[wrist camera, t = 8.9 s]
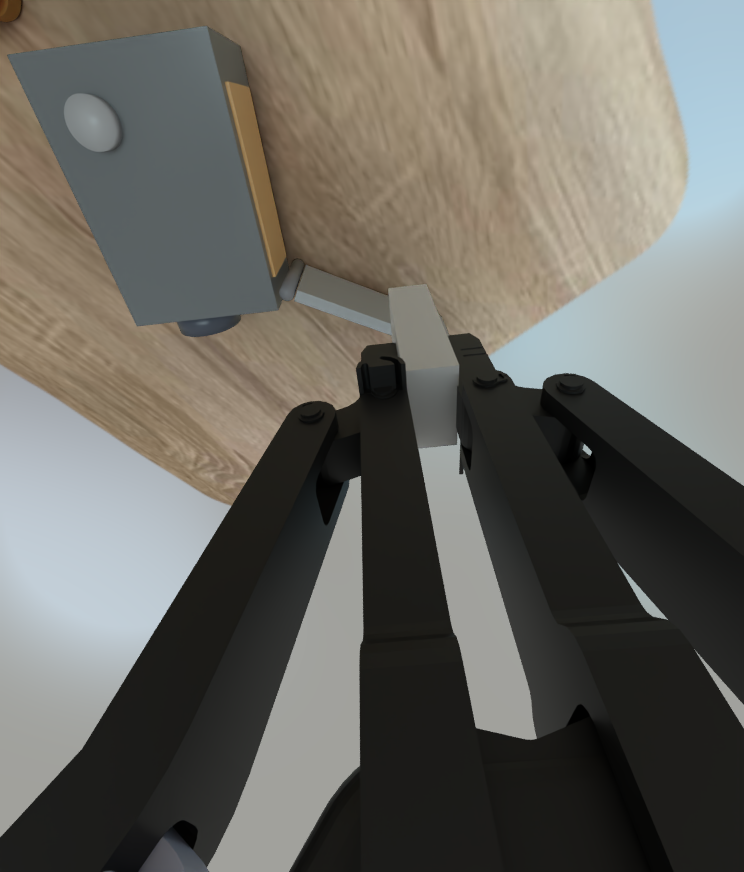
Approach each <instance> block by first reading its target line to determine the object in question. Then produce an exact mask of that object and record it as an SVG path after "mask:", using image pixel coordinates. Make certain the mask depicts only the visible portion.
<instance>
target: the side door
mask: <svg viewBox="0 0 744 872" xmlns="http://www.w3.org/2000/svg"><path fill="white" fill-rule="evenodd" d="M303 270H304V263H303V261H302V260H300V259H295V260H294V261H293V262H292V264H291V266H290V269H289V271H288V273H287V275H286V277H285V279H284V282H283V284H282V286H281V288H280V291H279V295H280V297H281V298H282V299H283V300H285V301H290V300H292V299H293V297H294V295H295V292H296V289H297V286H298V284H299V281H300V278H301V275H302V273H303V275H302V278H301V281H300V284H299V287H298V289H297V293H296V297H295V300H294V301H296V302H298V303H301V304H304V305H307V306H310V307H312V308H315V309H318V310H321V311H324V312H327V313H329V314H332V315H335V316H338V317H341V318H343V319H346V320H349V321H352V322H355V323H358V324H360V325H363V326H366V327H369V328H372V329H375V330H377V331H380V332H383V333H386V334H389V335H391V336H392V333H391V320H390V308H389V296H387V295H384V294H382V293H379V292H376V291H374V290H371V289H369V288H366V287H363V286H361V285H358V284H355V283H353V282H350V281H347V280H345V279H342V278H339V277H337V276H334V275H332V274H329V273H326V272H324V271H321V270H318V269H316V268H313V267H310V266H308V265H306V267H305V270H304V272H303ZM439 316H440V315H439ZM440 319H441V321H442V324H443V326H444V329H445V331H446V334H447V336H449V333H448V331H447V328H446V326H445V323H444V321H443V319H442V316H440Z"/></svg>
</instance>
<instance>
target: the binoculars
mask: <svg viewBox="0 0 744 872" xmlns="http://www.w3.org/2000/svg"><path fill="white" fill-rule="evenodd" d="M20 10H21V0H0V21H2V22H10V21H13V20H15V19H16V18H17V17H18V15H19V13H20Z"/></svg>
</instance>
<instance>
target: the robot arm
mask: <svg viewBox="0 0 744 872" xmlns="http://www.w3.org/2000/svg"><path fill="white" fill-rule="evenodd" d="M388 295H389V308H390V320H391V333H392V343H387V344H378V345H369V346H366V348H365V349H364V350H363V352H362V353H361V362H359V363H358V365H357V367H356V372H357V379H358V386H359V393H360V398H359V399H358V400H357V401H356V402H355V403H353V404H351V405H350V406H348V407H345V408H342V409H339V410H335V408H334V407H333V405H331V404H329V403H327V402H322V401H313V402H312V401H311V402H307V403H303V404H301V405H299V406H297V407H295V408H294V409H292V411H291V412H290V413H289V414H288V415H287V417H286V418H285V420H284V422H283V423H282V425H281V427H280V428H279V430H278V431H277V433H276V435H275V436H274V438H273V440H272V441H271V443H270V444H269V446H268V448H267V449H266V451H265V453H264V454H263V456H262V457H261V459H260V461H259V462H258V464H257V466H256V467H255V469H254V470H253V472H252V474H251V475H250V477H249V479H248V480H247V482H246V483H245V485H244V487H243V488H242V490H241V492H240V493H239V495H238V496H237V498H236V500H235V501H234V503H233V505H232V506H231V508H230V510H229V511H228V513H227V514H226V516H225V518H224V519H223V521H222V523H221V524H220V526H219V527H218V529H217V531H216V532H215V534H214V536H213V537H212V539H211V540H210V542H209V544H208V545H207V547H206V549H205V550H204V552H203V553H202V555H201V557H200V558H199V560H198V562H197V564H196V565H195V566H194V568H193V570H192V571H191V573H190V575H189V576H188V578H187V579H186V581H185V583H184V584H183V586H182V588H181V589H180V591H179V592H178V594H177V596H176V597H175V599H174V601H173V602H172V604H171V605H170V607H169V609H168V610H167V612H166V614H165V615H164V617H163V618H162V620H161V622H160V623H159V625H158V627H157V628H156V630H155V631H154V633H153V635H152V636H151V638H150V640H149V641H148V643H147V644H146V646H145V648H144V649H143V651H142V653H141V654H140V656H139V657H138V659H137V661H136V662H135V664H134V666H133V667H132V669H131V670H130V672H129V674H128V675H127V677H126V679H125V680H124V682H123V684H122V685H121V687H120V688H119V690H118V692H117V693H116V695H115V697H114V698H113V700H112V701H111V703H110V705H109V706H108V708H107V710H106V711H105V713H104V714H103V716H102V718H101V719H100V721H99V723H98V724H97V726H96V727H95V729H94V731H93V732H92V734H91V736H90V737H89V739H88V740H87V742H86V744H85V745H84V747H83V749H82V750H81V751H80V752H79V753H78V754H77V755H76V756H75V757H74V759H72V761H71V762H70V763H69V764H68V765H67V766H66V767H65V768H64V769H63V770H62V771H61V772H60V773H59V775H58V776H57V777H56V778H55V779H54V780H53V781H52V782H51V783H50V784H49V785H48V786H47V788H46V789H45V790H44V791H43V792H42V793H41V794H40V795H39V796H38V797H37V798H36V799H35V801H34V802H33V803H32V804H31V805H30V806H29V807H28V808H27V809H26V810H25V812H23V813H22V815H21V816H20V817H19V818H18V819H17V820H16V821H15V822H14V823H13V824H12V826H10V828H9V829H8V830H7V831H6V832H5V833H4V834H3V835H2V836H1V837H0V872H209V871H208V869H207V866H208V864H209V862H210V861H211V859H212V857H213V856H214V854H215V852H216V850H217V848H218V846H219V844H220V842H221V839H222V837H223V835H224V833H225V831H226V829H227V827H228V825H229V823H230V821H231V819H232V817H233V815H234V812H235V810H236V807H237V805H238V802H239V799H240V797H241V794H242V792H243V789H244V787H245V784H246V782H247V779H248V777H249V774H250V771H251V768H252V765H253V763H254V760H255V757H256V754H257V751H258V748H259V745H260V742H261V739H262V737H263V734H264V731H265V728H266V725H267V722H268V719H269V716H270V713H271V710H272V708H273V704H274V702H275V699H276V696H277V693H278V690H279V687H280V684H281V681H282V679H283V676H284V673H285V670H286V667H287V664H288V661H289V658H290V655H291V652H292V650H293V646H294V644H295V641H296V638H297V635H298V632H299V629H300V627H301V623H302V621H303V618H304V615H305V612H306V609H307V606H308V603H309V600H310V598H311V595H312V592H313V589H314V586H315V583H316V580H317V577H318V574H319V571H320V569H321V566H322V563H323V560H324V557H325V554H326V551H327V548H328V545H329V543H330V540H331V537H332V534H333V531H334V528H335V525H336V522H337V519H338V517H339V514H340V511H341V508H342V505H343V502H344V499H345V496H346V493H347V490H348V487H349V480H350V479H353V478H355V477H358V476H361V499H362V561H363V562H362V563H363V622H364V623H363V624H364V633H363V634H364V635H363V641H362V643H361V647H360V766H359V767H358V768H357V769H356V770H355V771H354V772H353V773H352V774H351V775H350V776H349V777H348V778H347V779H346V780H345V781H344V782H343V783H342V785H341V786H340V787H339V788H338V790H337V791H336V793H335V794H334V795H333V797H332V798H331V799H330V801H329V803H328V804H327V806H326V807H325V809H324V811H323V812H322V814H321V816H320V818H319V820H318V821H317V823H316V825H315V827H314V828H313V830H312V832H311V834H310V836H309V837H308V839H307V841H306V843H305V844H304V846H303V848H302V850H301V851H300V853H299V855H298V857H297V858H296V860H295V862H294V864H293V866H292V867H291V869H290V871H289V872H744V728H743V727H742V725H741V723H740V722H739V720H738V719H737V717H736V715H735V714H734V712H733V711H732V709H731V707H730V706H729V704H728V703H727V701H726V700H725V698H724V696H723V695H722V693H721V691H720V690H719V688H718V687H717V685H716V684H715V682H714V680H713V679H712V677H711V675H710V674H709V672H708V671H707V669H706V667H705V666H704V664H703V663H702V661H701V660H700V658H699V656H698V655H697V653H698V654H699V655H700V656H701V657H702V658H703V659H704V660H705V662H706V663H707V664H708V665H709V666H710V667H711V668H712V669H713V671H714V672H715V673H716V674H717V675H718V676H719V677H720V678H721V680H722V681H723V682H724V683H725V684H726V685H727V686H728V687H729V688H730V689H731V691H732V692H733V693H734V694H735V695H736V696H737V698H738V699H739V700H740V701H741V702H742V703H743V704H744V486H743V485H741V484H740V483H739V482H737V481H736V480H734V479H732V478H731V477H730V476H729V475H727V474H726V473H724V472H723V471H721V470H720V469H718V468H717V467H716V466H714V465H713V464H711V463H710V462H708V461H707V460H706V459H704V458H703V457H701V456H700V455H698V454H697V453H695V452H694V451H692V450H691V449H690V448H688V447H687V446H685V445H684V444H683V443H681V442H680V441H678V440H677V439H675V438H674V437H672V436H671V435H670V434H668V433H667V432H665V431H664V430H663V429H661V428H660V427H658V426H657V425H655V424H654V423H653V422H651V421H650V420H648V419H647V418H645V417H644V416H642V415H641V414H640V413H638V412H637V411H635V410H634V409H632V408H631V407H629V406H628V405H627V404H625V403H624V402H622V401H621V400H619V399H618V398H617V397H615V396H614V395H612V394H611V393H610V392H608V391H607V390H605V389H604V388H602V387H601V386H599V385H598V384H597V383H595V382H594V381H592V380H590V379H588V378H586V377H583V376H579V375H576V374H568V373H566V374H565V373H564V374H557V375H553V376H551V377H548V378H547V379H546V380H545V381H544V383H543V389H534V388H523V387H518V386H515V384H514V383H513V381H512V379H511V378H510V377H509V376H508V375H507V374H505V373H503V372H501V371H497V370H495V368H494V366H493V364H492V362H491V361H490V359H489V357H488V355H487V354H486V351H485V349H484V348H483V346H482V344H481V342H480V340H479V339H478V338H476V337H475V336H473V335H471V334H470V333H467V334H458V335H449V336H447V334H446V331H445V329H444V326H443V324H442V321H441V319H440V316H439V314H438V312H437V309H436V307H435V304H434V302H433V299H432V297H431V294H430V292H429V289H428V287H427V285H426V284H421V285H412V286H404V287H395V288H388ZM457 432H458V434H459V438H460V468H459V470H460V471H459V474H463V469H464V470H465V474H466V477H467V480H468V483H469V487H470V490H471V494H472V497H473V501H474V504H475V507H476V510H477V514H478V517H479V521H480V524H481V527H482V531H483V534H484V537H485V541H486V544H487V548H488V551H489V554H490V558H491V561H492V564H493V568H494V571H495V574H496V578H497V581H498V585H499V588H500V591H501V594H502V598H503V601H504V605H505V608H506V612H507V615H508V618H509V622H510V625H511V628H512V632H513V635H514V638H515V642H516V645H517V648H518V652H519V655H520V659H521V662H522V665H523V669H524V672H525V675H526V679H527V682H528V686H529V689H530V695H531V700H532V713H533V721H534V727H535V732H536V736H537V739H535V740H525V739H521V738H516V737H512V736H507V735H503V734H499V733H494V732H490V731H486V730H481V729H477V728H476V727H475V722H474V717H473V711H472V706H471V701H470V696H469V691H468V686H467V681H466V676H465V671H464V666H463V661H462V656H461V652H460V647H459V643H458V640H457V637H456V636H455V635H454V633H453V630H452V626H451V622H450V616H449V611H448V605H447V600H446V595H445V589H444V584H443V579H442V574H441V568H440V563H439V557H438V552H437V547H436V541H435V536H434V531H433V525H432V520H431V515H430V509H429V504H428V499H427V493H426V488H425V483H424V477H423V472H422V467H421V461H420V456H419V451H418V448H427V447H437V446H448V445H457ZM584 444H585V445H586V446H588V448H589V449H590V450H591V451H592V454H591V456H590V455H588V454H587V453H586V452H584V451H583V450H582V449H583V446H584ZM618 564H619V565H620V566H621V567H622V568H623V569H624V570H625V572H626V573H627V574H628V575H629V576H630V577H631V578H632V579H633V580H634V582H635V583H636V584H637V585H638V586H639V587H640V588H641V590H642V591H643V592H644V593H645V594H646V595H647V596H648V597H649V599H650V600H651V601H652V602H653V603H654V604H655V605H656V606H657V607H658V609H659V610H660V611H661V612H662V613H663V614H664V615H665V617H666V618H667V619H668V620H666V619H661V618H656V617H652V616H651V615H650V614H649V613H647V612H646V611H645V609H644V608H643V606H642V605H641V603H640V601H639V600H638V598H637V596H636V594H635V593H634V591H633V589H632V588H631V586H630V584H629V583H628V581H627V579H626V577H625V575H624V574H623V572H622V570H621V568H620V567H619V565H618ZM694 649H695V650H696V651H697V653H696V651H695V650H694Z"/></svg>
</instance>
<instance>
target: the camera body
mask: <svg viewBox="0 0 744 872" xmlns="http://www.w3.org/2000/svg"><path fill="white" fill-rule="evenodd" d="M7 56H8V58H9V60H10V62H11V64H12V66H13V69H14V71H15V73H16V75H17V77H18V79H19V81H20V83H21V85H22V87H23V89H24V91H25V94H26V96H27V98H28V100H29V102H30V104H31V106H32V108H33V110H34V112H35V114H36V117H37V119H38V121H39V123H40V125H41V127H42V129H43V131H44V133H45V135H46V137H47V139H48V142H49V144H50V146H51V148H52V150H53V152H54V154H55V156H56V158H57V160H58V162H59V165H60V167H61V169H62V171H63V173H64V175H65V177H66V179H67V181H68V183H69V185H70V187H71V190H72V192H73V194H74V196H75V198H76V200H77V202H78V204H79V206H80V208H81V210H82V212H83V215H84V217H85V219H86V221H87V223H88V225H89V227H90V229H91V231H92V233H93V235H94V238H95V240H96V242H97V244H98V246H99V248H100V250H101V252H102V254H103V256H104V258H105V260H106V263H107V265H108V267H109V269H110V271H111V273H112V275H113V277H114V279H115V281H116V283H117V286H118V288H119V290H120V292H121V294H122V296H123V298H124V300H125V302H126V304H127V306H128V308H129V311H130V313H131V315H132V317H133V319H134V321H135V323H136V325H137V326H144V325H153V324H162V323H170V322H177V324H178V326H179V329H180V331H181V333H182V334H183V335H185V336H190V337H200V336H208V335H213V334H217V333H220V332H223V331H225V330H228V329H230V328H232V327H234V326H235V325H236V324H238V323H239V322H240V320H241V317H240V315H241V314H250V313H259V312H268V311H277V310H279V307H280V305H281V302H282V300H283V299H282V298H281V297H280V295H279V291H280V288H281V286H282V284H283V282H284V279H285V277H286V275H287V273H288V271H289V266H288V261H287V257H286V252H285V247H284V243H283V238H282V234H281V229H280V224H279V220H278V215H277V211H276V206H275V202H274V197H273V193H272V188H271V184H270V179H269V174H268V170H267V165H266V161H265V156H264V152H263V147H262V143H261V138H260V134H259V129H258V124H257V120H256V115H255V111H254V106H253V102H252V97H251V93H250V88H249V84H248V79H247V75H246V70H245V66H244V61H243V57H242V52H241V47H240V46H239V45H238V44H236V43H234V42H233V41H231V40H229V39H228V38H226V37H224V36H223V35H221V34H219V33H218V32H216V31H214V30H213V29H211V28H209V27H208V26H202V27H196V28H189V29H182V30H175V31H168V32H161V33H154V34H147V35H140V36H133V37H126V38H120V39H113V40H106V41H99V42H92V43H85V44H78V45H71V46H64V47H57V48H50V49H44V50H37V51H30V52H23V53H16V54H9V55H7Z"/></svg>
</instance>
